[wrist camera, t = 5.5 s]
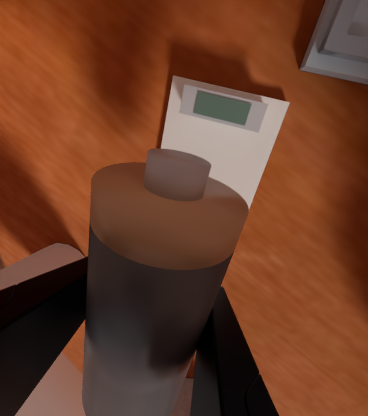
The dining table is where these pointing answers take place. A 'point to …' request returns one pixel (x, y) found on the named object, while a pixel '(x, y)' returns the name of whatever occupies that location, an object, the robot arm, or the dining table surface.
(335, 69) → the two-compartment grey tray
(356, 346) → the dining table surface
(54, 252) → the foam cup
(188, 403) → the house plant
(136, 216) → the battery cell
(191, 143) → the checker cradle
